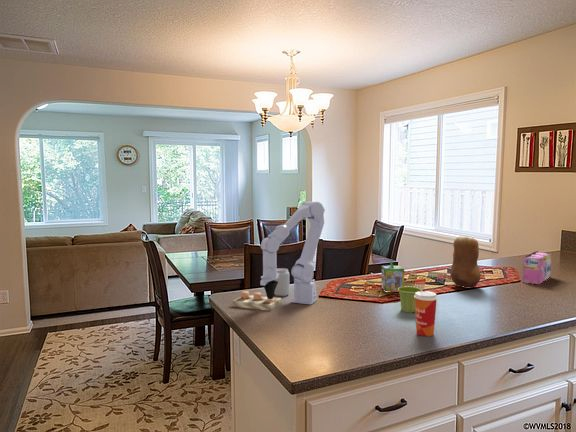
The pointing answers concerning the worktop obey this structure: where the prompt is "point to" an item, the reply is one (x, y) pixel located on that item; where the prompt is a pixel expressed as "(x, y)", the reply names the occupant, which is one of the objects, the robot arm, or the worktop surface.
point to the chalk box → (392, 277)
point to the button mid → (257, 296)
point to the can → (282, 282)
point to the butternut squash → (465, 262)
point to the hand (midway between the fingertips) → (270, 298)
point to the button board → (257, 303)
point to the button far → (245, 295)
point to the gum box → (536, 267)
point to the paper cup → (425, 312)
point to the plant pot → (408, 298)
